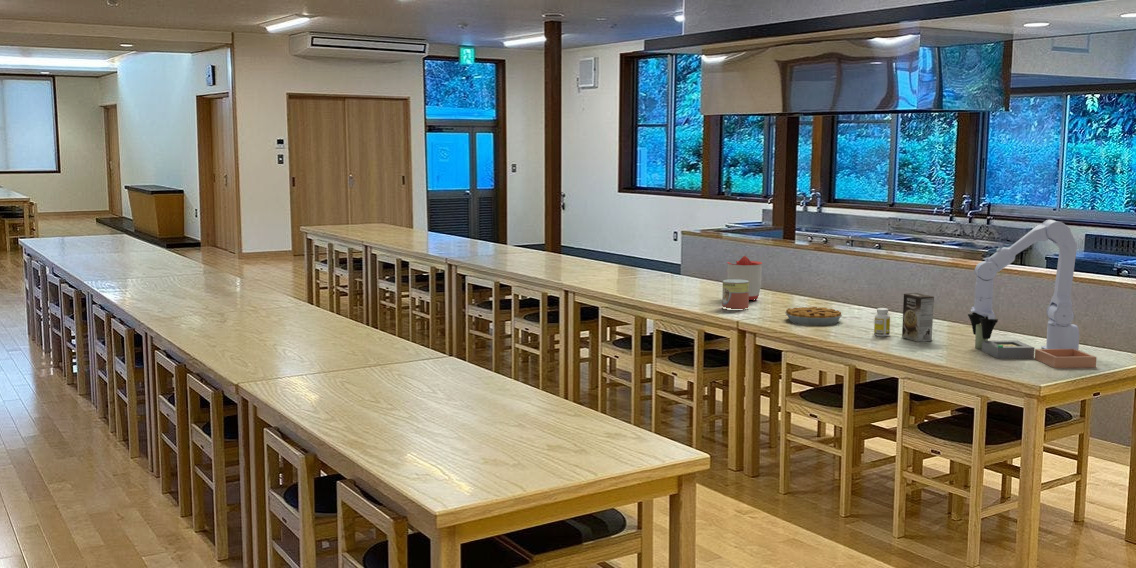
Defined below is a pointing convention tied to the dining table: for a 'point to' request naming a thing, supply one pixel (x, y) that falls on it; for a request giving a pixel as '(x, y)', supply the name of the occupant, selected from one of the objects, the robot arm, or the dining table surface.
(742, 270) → the citrus juicer
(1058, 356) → the tray
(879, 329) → the supplement bottle
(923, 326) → the coffee box
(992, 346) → the frame
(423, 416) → the dining table surface
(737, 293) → the canned food
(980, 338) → the olive cell
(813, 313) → the pie
